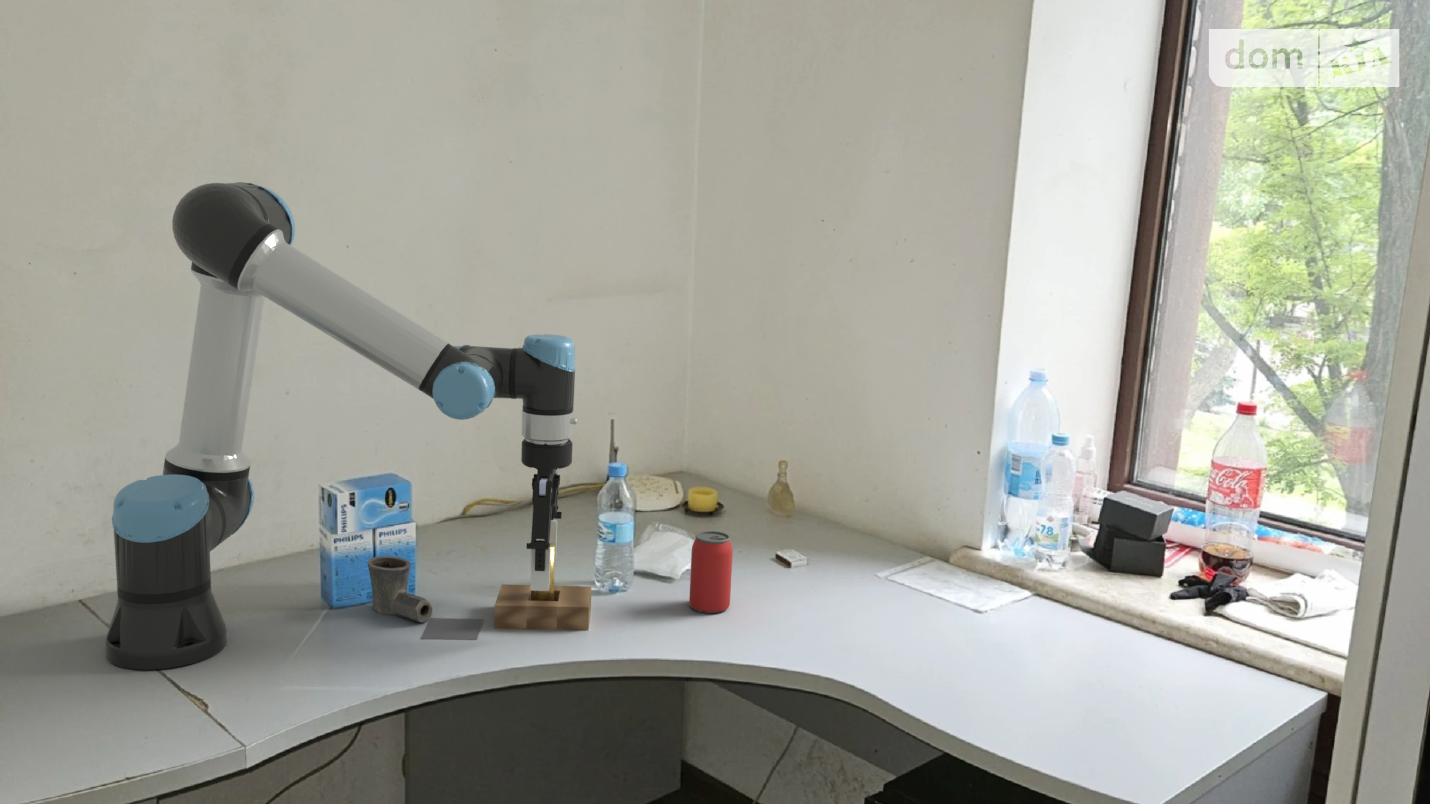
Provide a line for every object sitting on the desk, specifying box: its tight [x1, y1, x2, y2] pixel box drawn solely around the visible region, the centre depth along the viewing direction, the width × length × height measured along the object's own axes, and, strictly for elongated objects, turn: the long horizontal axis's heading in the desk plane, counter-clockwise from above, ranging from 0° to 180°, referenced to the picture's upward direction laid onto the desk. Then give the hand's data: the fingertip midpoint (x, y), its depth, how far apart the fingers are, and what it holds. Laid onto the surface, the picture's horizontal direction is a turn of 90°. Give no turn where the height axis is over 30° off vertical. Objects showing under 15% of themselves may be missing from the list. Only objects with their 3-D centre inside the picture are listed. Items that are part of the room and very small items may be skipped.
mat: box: [420, 617, 485, 641], centre depth 168 cm, size 8×8×1 cm
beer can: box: [688, 530, 734, 614], centre depth 181 cm, size 7×7×12 cm
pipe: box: [366, 555, 433, 624], centre depth 172 cm, size 6×13×8 cm, turn 53°
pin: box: [534, 543, 556, 601], centre depth 173 cm, size 3×3×12 cm
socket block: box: [493, 584, 592, 631], centre depth 173 cm, size 14×9×4 cm, turn 94°
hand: (543, 574), depth 172 cm, fingers open, 13 cm apart
